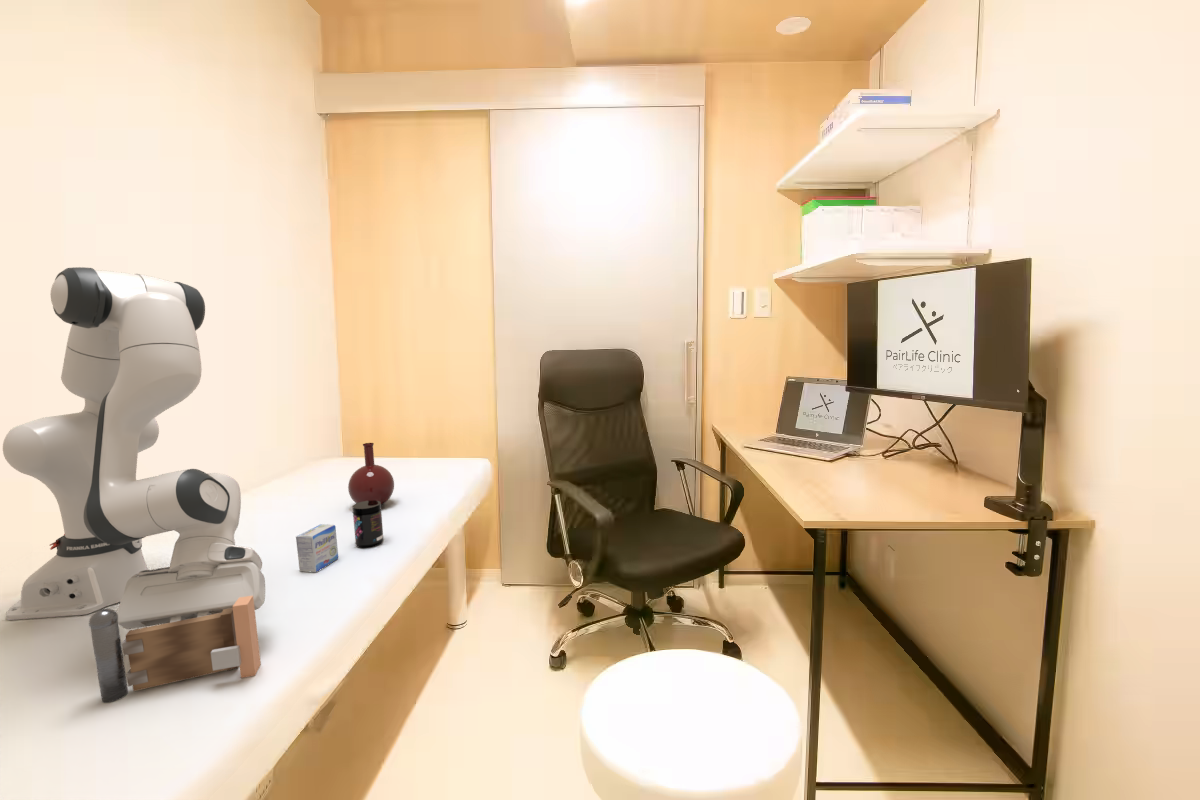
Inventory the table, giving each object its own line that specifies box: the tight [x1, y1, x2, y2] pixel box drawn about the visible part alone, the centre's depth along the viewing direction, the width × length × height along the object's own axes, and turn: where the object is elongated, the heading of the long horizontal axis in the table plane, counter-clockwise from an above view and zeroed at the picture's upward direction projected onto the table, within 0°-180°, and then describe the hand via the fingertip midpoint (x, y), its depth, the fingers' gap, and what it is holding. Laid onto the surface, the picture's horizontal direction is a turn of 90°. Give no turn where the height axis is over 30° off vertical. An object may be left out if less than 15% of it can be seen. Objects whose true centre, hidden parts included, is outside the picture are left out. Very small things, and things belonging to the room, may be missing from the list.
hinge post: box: [88, 608, 129, 704], centre depth 81 cm, size 3×3×14 cm
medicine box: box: [295, 523, 339, 573], centre depth 127 cm, size 8×4×9 cm, turn 168°
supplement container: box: [351, 500, 384, 549], centre depth 139 cm, size 7×7×10 cm
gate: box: [121, 608, 239, 692], centre depth 85 cm, size 14×2×9 cm, turn 114°
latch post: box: [211, 596, 262, 679], centre depth 86 cm, size 5×4×12 cm
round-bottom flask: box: [347, 442, 395, 506], centre depth 168 cm, size 13×13×20 cm
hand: (186, 646), depth 87 cm, fingers closed
